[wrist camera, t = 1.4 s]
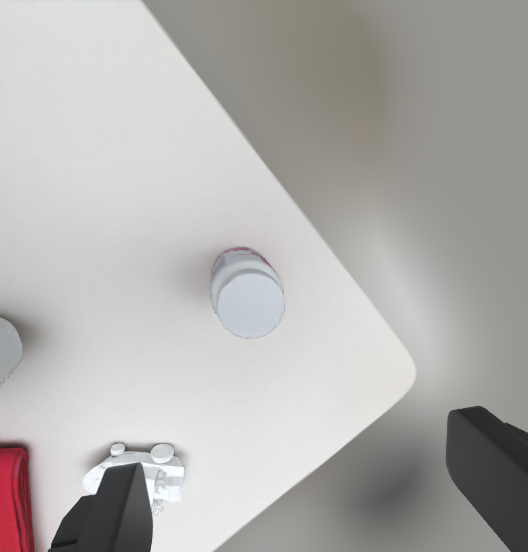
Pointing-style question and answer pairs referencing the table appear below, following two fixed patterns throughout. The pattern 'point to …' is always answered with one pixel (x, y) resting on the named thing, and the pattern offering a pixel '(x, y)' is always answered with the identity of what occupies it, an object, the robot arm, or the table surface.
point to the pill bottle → (246, 293)
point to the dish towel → (15, 502)
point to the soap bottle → (9, 349)
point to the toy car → (145, 473)
